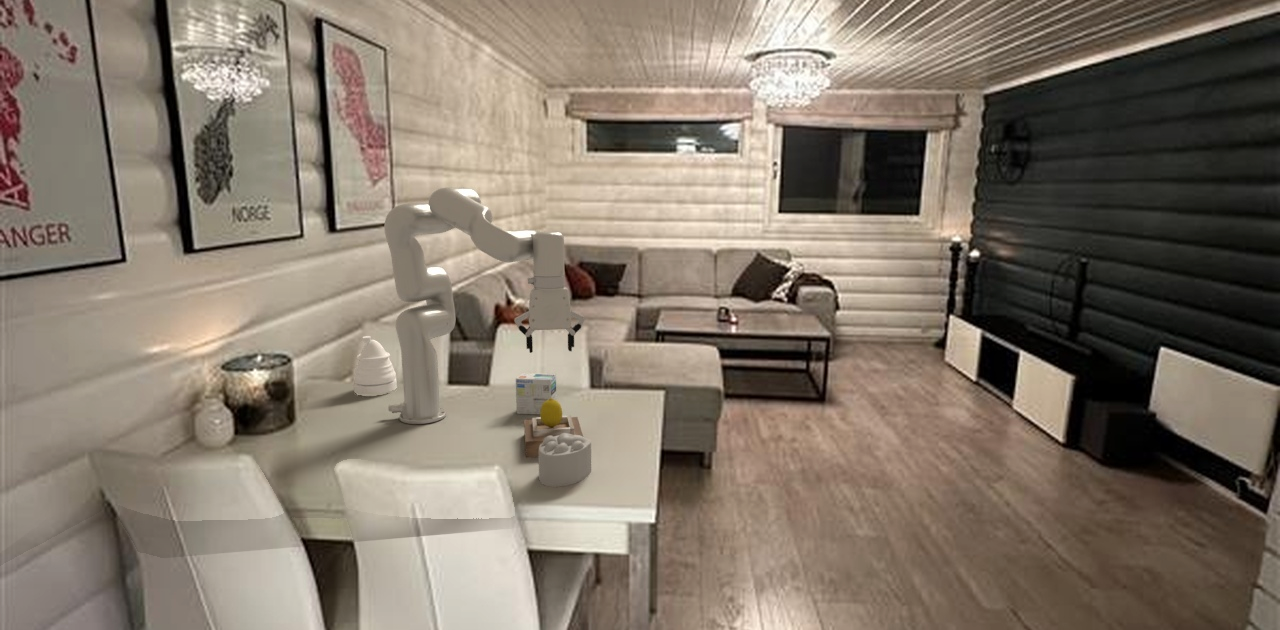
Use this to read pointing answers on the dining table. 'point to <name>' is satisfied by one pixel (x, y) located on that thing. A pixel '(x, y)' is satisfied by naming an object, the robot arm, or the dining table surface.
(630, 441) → the dining table surface
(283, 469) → the dining table surface
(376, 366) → the honey pot
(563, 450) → the lumpy-topped squat cylinder
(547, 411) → the lemon
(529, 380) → the light bulb box
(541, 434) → the walnut plinth
